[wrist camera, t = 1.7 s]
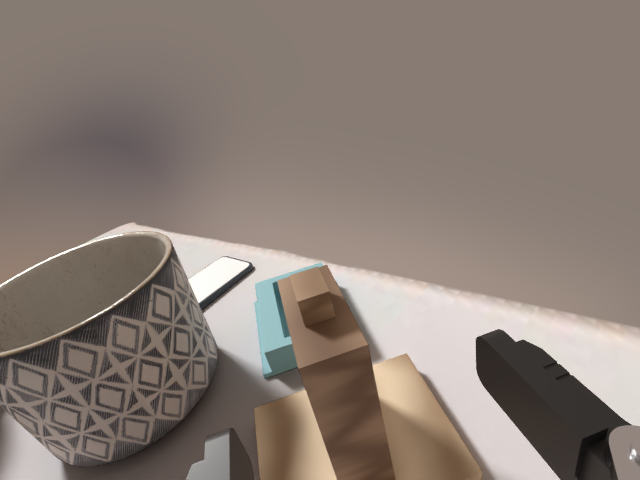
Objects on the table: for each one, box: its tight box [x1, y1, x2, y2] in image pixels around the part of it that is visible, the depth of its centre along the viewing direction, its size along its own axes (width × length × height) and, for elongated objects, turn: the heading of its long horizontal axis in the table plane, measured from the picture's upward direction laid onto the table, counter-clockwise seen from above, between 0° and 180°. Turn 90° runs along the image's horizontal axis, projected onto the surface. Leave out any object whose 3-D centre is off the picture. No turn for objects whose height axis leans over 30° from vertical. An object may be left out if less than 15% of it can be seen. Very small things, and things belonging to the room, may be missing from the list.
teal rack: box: [254, 263, 323, 378], centre depth 45 cm, size 12×14×4 cm
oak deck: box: [254, 353, 482, 480], centre depth 30 cm, size 16×12×2 cm
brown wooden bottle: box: [277, 265, 395, 480], centre depth 26 cm, size 4×9×16 cm, turn 14°
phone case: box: [188, 256, 253, 310], centre depth 59 cm, size 9×2×16 cm
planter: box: [0, 231, 218, 466], centre depth 37 cm, size 19×19×16 cm
